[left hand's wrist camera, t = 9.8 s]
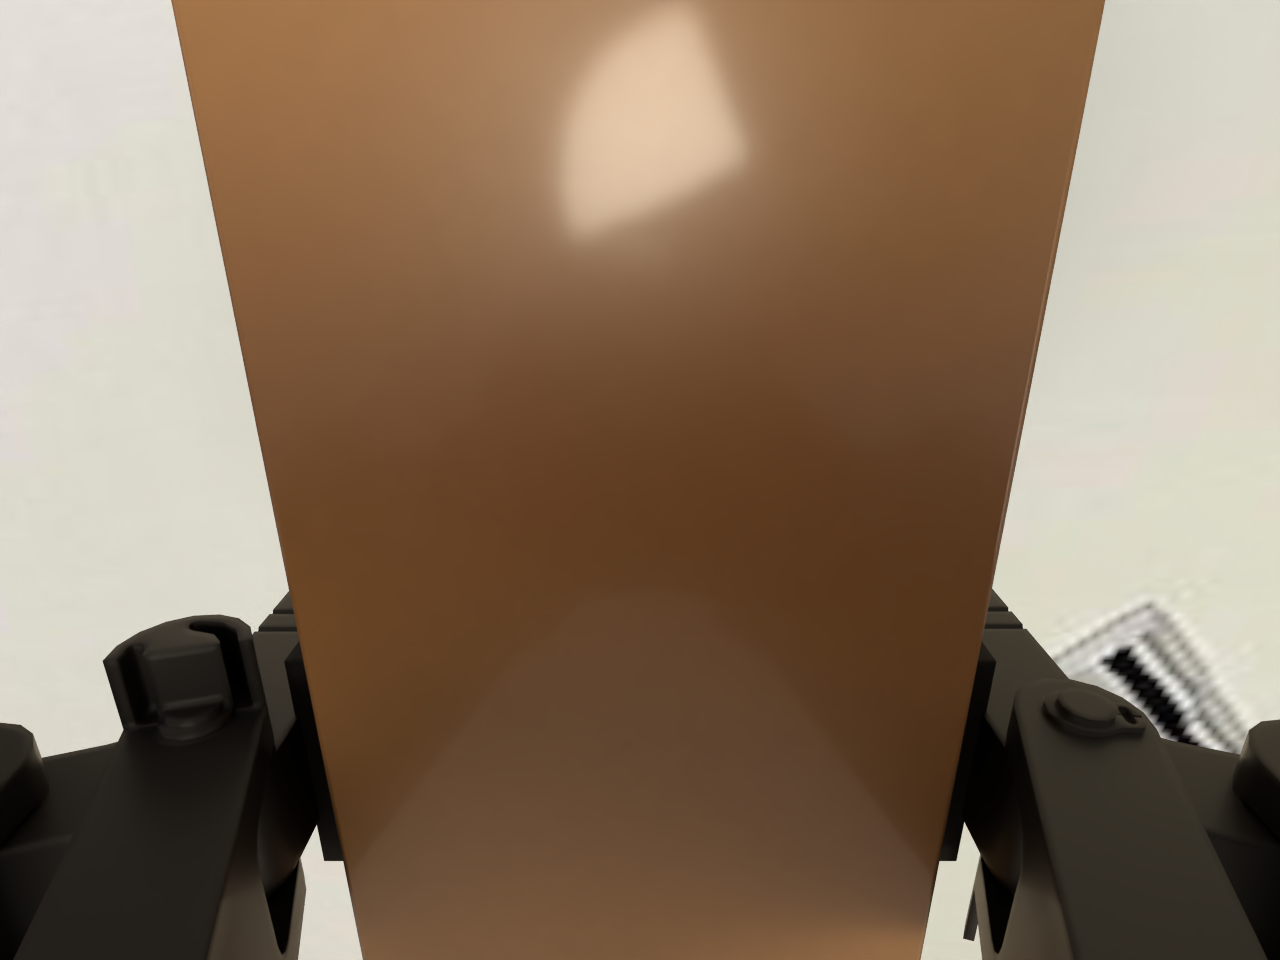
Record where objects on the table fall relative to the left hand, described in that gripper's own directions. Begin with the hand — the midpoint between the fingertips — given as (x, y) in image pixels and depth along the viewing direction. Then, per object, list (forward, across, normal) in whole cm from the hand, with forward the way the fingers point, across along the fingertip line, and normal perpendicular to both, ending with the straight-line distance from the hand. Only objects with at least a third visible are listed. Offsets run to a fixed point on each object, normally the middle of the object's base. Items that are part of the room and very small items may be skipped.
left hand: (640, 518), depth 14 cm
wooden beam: (+1, 0, -24) cm, 24 cm away
